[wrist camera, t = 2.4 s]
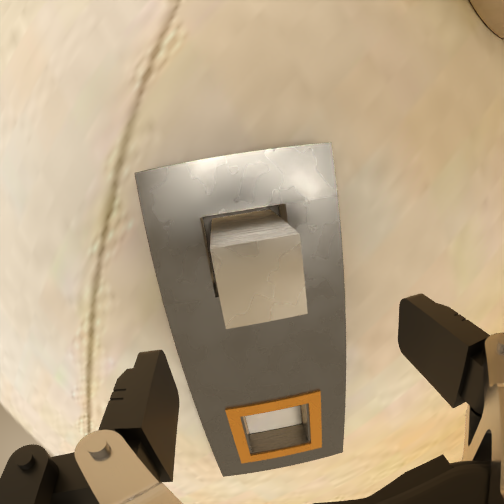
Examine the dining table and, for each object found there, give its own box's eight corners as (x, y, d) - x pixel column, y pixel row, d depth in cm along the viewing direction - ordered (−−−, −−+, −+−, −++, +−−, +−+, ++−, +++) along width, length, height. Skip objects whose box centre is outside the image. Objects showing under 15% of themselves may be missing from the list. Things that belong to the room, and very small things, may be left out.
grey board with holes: (143, 171, 20) (133, 172, 18) (318, 144, 21) (332, 142, 18) (221, 458, 28) (223, 478, 25) (335, 435, 29) (343, 453, 26)
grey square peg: (211, 218, 22) (210, 249, 14) (270, 209, 22) (299, 233, 14) (222, 274, 23) (225, 329, 15) (277, 264, 23) (307, 313, 15)
